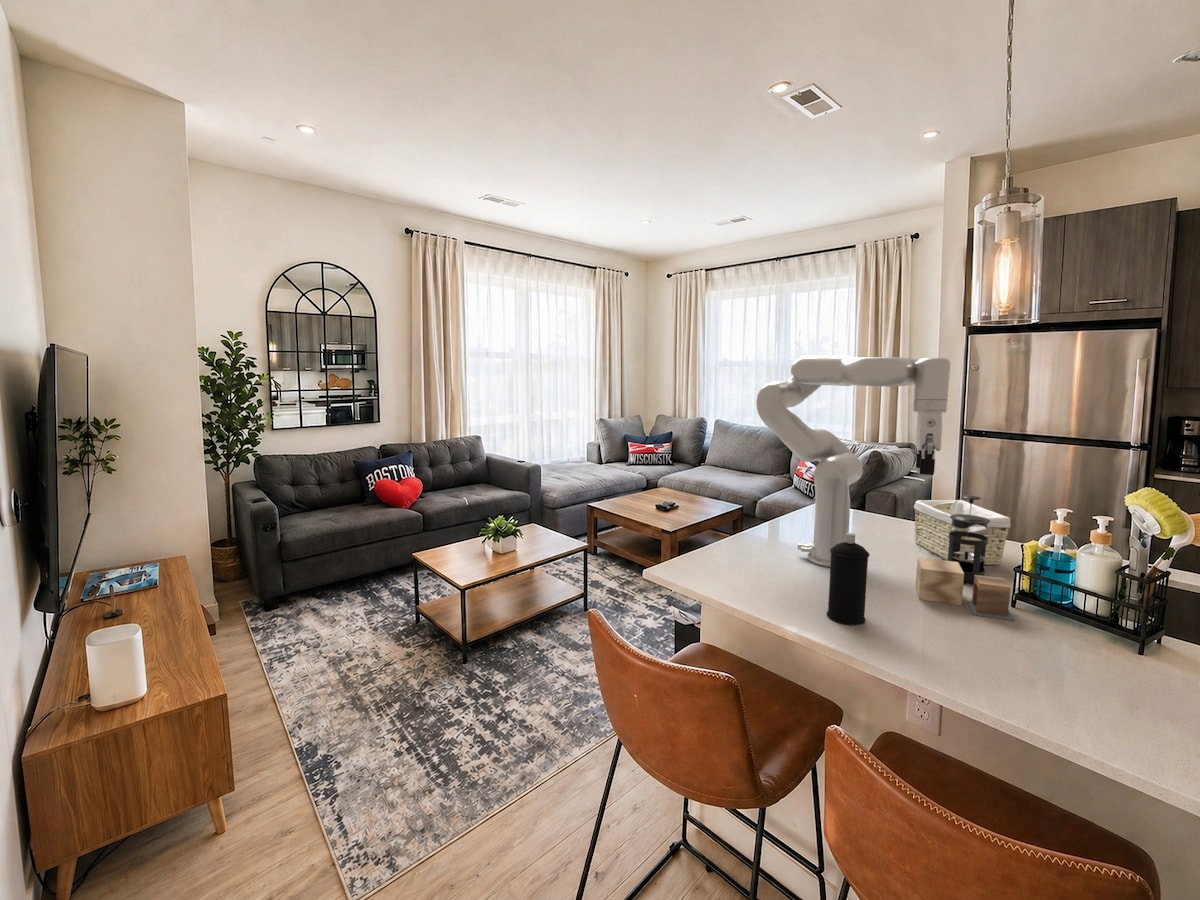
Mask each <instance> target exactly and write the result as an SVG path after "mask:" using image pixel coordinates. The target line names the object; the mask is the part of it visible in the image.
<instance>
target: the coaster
mask: <svg viewBox="0 0 1200 900" xmlns="http://www.w3.org/2000/svg"><path fill="white" fill-rule="evenodd" d="M966 604H967V606H968V608H969V610H970V612H971V614H972V615H973V616H979V617H985V618H986V617H987V618H991V619H998V618H999V619H1000V620H1005V619H1006V621H1014V622H1015V621H1016V620H1015V618H1014V616H1013V614H1012V613H1011V611H1010V609H1008V616H1001V615H994V614H987V613H980V612H976V604H973V603H972V600H968V599H966ZM992 617H993V618H992Z"/></svg>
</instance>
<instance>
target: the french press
mask: <svg viewBox="0 0 1200 900" xmlns="http://www.w3.org/2000/svg"><path fill="white" fill-rule="evenodd" d="M961 497H962V498H963V499H966V500H968V503H970V512H969V515H965V514H955V515H951V516H950V518H951V519H952V525H953V526H955V527H958V528H968V532H964V531H958V530H951V532H950V533H949V536H948V539H949V550H948V561H953V562H958V563H959V565H960V567H961V569H962V571H963V572H964V582H963V585H964V584H965V585H972V584H974V575H980V576H986V568H985V564H984V562H985V551H986V545H987V544H988V538H987V537H986V536H984V535H981V534H977V533H972V532H969V530H970V526H972V525H976V524H978V525H982V526H984V527H985V528H987V525H988V523H990V520H989V519H986V518H983V517H979V516H974V515H971V508H972V504H974V502H975V501H978V500H979V501H980V500H982V497H980V496H977V495H962V496H961ZM961 536H967V540H965V539H961ZM969 537H973V538H978V539H981V541H972V540H969ZM961 544H965V545H967V546H966V551H960V545H961ZM968 545H973V546H974V553H972V552H968ZM969 562H970V563H969Z"/></svg>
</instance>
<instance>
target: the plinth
mask: <svg viewBox="0 0 1200 900" xmlns="http://www.w3.org/2000/svg"><path fill="white" fill-rule="evenodd" d="M963 582H964V572H963V571H962V569H961V567H960V565H959V563H958V562H953V561H947V560H945V559H943V560H942V559H934V558H927V557H919V556H917V560H916V576H915V591H916V594H917V597H918V600H922V601H929V602H935V603H936V602H937V603H941V604H942V603H943V604H950V605H957V606H962V602H963V592H964V583H963Z"/></svg>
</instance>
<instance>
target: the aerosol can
mask: <svg viewBox="0 0 1200 900" xmlns="http://www.w3.org/2000/svg"><path fill="white" fill-rule="evenodd" d="M830 552H831V565H830V567H829V568H830V569H829V585H828V586H829V587H828V588H829V589H828V606H827V607H828V608H827V612H826V616H827V618H829V619H830V620H831V621H832V622H835V623H838V624H840V625H841V624H842V625H846V626H860V625H863V624H865V622H866V617H865V611H866V598H867V597H866V596H867V595H866V594H867V580H868V564H869V558H870V553H869V551H867V550H866V548H865V547H864V546H862V545H861V544H859V543H856V533H853V532H849V533H846V541H845V542H842V543H838V544H836V545H835V546H834V547H833V548H831V549H830Z"/></svg>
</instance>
